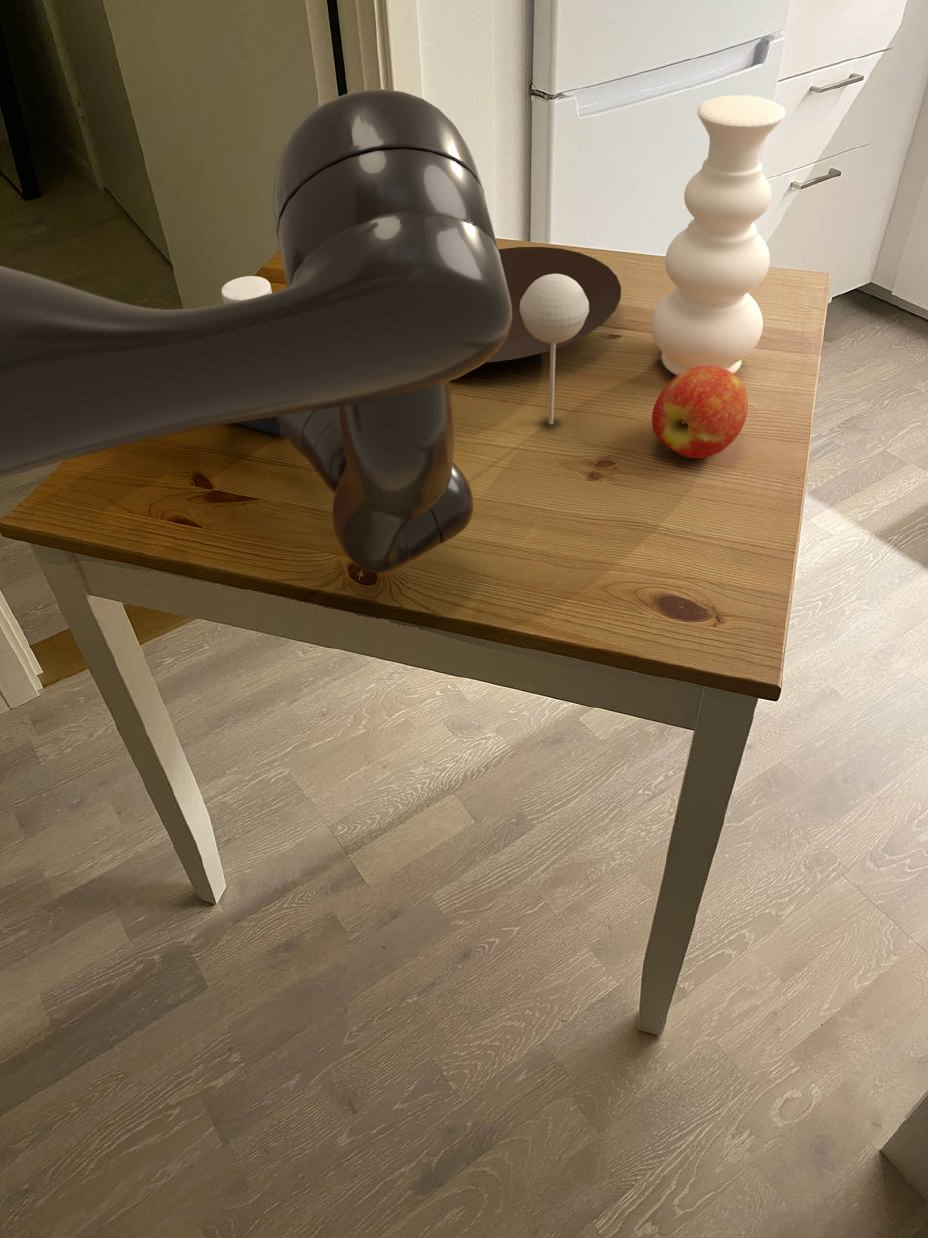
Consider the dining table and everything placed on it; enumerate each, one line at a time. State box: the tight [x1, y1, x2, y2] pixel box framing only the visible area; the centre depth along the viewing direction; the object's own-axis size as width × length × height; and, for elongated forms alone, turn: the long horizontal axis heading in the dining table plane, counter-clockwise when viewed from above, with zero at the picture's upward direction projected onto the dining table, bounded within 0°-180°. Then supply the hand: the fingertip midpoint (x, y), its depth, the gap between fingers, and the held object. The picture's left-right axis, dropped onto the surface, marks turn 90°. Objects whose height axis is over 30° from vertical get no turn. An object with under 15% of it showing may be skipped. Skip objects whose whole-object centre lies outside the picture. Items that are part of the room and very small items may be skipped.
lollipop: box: [520, 274, 589, 425], centre depth 87 cm, size 6×6×15 cm
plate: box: [485, 246, 622, 363], centre depth 105 cm, size 28×28×4 cm
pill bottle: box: [221, 275, 273, 304], centre depth 94 cm, size 6×6×11 cm
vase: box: [651, 94, 786, 376], centre depth 89 cm, size 11×11×25 cm
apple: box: [651, 366, 749, 459], centre depth 86 cm, size 8×8×8 cm
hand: (254, 327), depth 91 cm, fingers open, 8 cm apart
